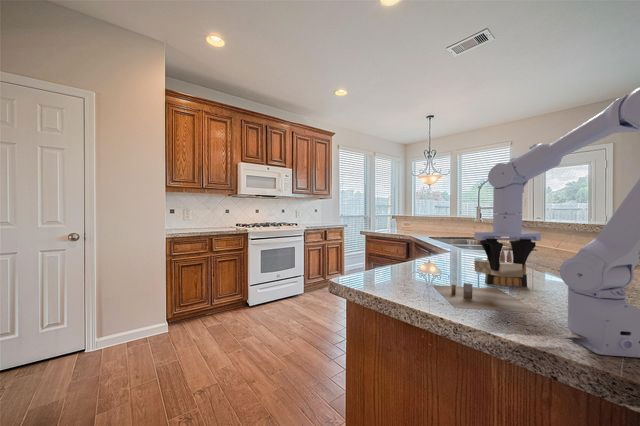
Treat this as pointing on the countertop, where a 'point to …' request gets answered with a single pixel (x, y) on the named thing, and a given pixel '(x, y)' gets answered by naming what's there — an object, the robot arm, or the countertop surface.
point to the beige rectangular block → (504, 269)
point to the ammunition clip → (507, 280)
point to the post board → (482, 298)
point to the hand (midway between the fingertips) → (506, 270)
